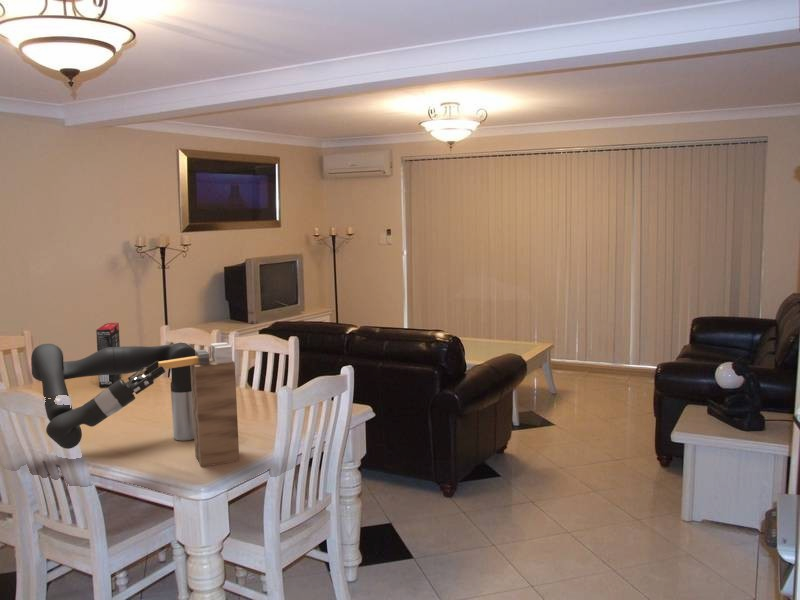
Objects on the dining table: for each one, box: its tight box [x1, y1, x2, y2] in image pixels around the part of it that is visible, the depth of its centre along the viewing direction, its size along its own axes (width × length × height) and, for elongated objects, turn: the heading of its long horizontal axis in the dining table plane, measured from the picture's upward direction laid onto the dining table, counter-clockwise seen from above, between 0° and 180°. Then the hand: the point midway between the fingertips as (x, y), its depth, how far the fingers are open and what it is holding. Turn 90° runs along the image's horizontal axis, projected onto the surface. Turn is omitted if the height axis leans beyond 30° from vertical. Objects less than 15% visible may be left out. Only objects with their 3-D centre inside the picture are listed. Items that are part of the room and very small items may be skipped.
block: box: [158, 356, 199, 370], centre depth 217 cm, size 3×14×2 cm, turn 116°
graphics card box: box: [95, 322, 122, 388], centre depth 322 cm, size 17×7×27 cm, turn 10°
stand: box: [190, 342, 240, 468], centre depth 223 cm, size 10×12×37 cm
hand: (161, 365), depth 214 cm, fingers open, 8 cm apart
